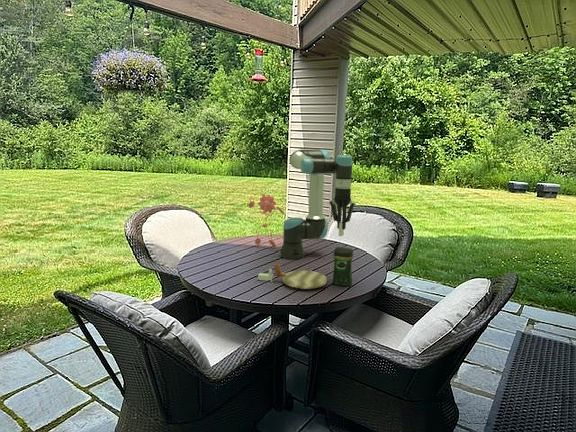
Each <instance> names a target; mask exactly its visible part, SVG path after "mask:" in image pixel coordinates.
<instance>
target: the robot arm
mask: <svg viewBox="0 0 576 432" xmlns="http://www.w3.org/2000/svg"><path fill="white" fill-rule="evenodd" d="M289 164H290V166H291V167H292V168H293V169H297V170H300V172H301V173H302V174H305V175H307V174H308V175H309V182H308V183H309V185H308V187H309V189H308V214H307V215H306V216H305V219H303V217H290V218H287V219H285V220H284V221H283V228H282V230H283V239H282V246H281V249H280V252H279V256H280V257H281V258H282V257H283V259H285V258H286V259H287V260H300V259H304V258H305V257H306V253H305V248H304V246H303V240H319V239H324V238H326V236H327V234H328V230H329V225H328V224H329V223H328V222H329V221H328V220H327V219H326V218H325V217H326V216H324V214H323V213H324V210H323V209H324V187H325V186H324V185H325V184H324V183H325V175H328V174H329V175H331V174H332V175H333V174H334V175H335V182H334V183H335V184H334V185H335V188H334V197H333V200H330V201H329V205H330V207H331V211H332V218H333V221H334V222H336V223H337V224H336V225H337V226H336V228H337V230H338V237H343V236H344V230H346V227H347V223H349V222H350V220H351V218H352V215H353V211H354V207H355V206H356V202H353V200H352V197H351V196H352V195H351V194H352V193H351V192H352V189H351V187H352V176H353V175H352V174H353V172H352V171H353V157H352V156H351V155H347V154H346V155H344V154H342V155H340V154H339V155H337V156H336V158H335V157H334V158H331V156H330V154H329V152H328V151H327V150H326V149H320V148H319V149H304V148H303V149H298V150H295V151H294V152H292V153H291V155H290V156H289ZM336 206H337V207H336ZM348 206H349V208H348Z"/></svg>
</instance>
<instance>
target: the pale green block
mask: <svg viewBox="0 0 576 432" xmlns="http://www.w3.org/2000/svg"><path fill="white" fill-rule="evenodd" d="M257 275H258V276H257V279H259V280H271V281H272V279H273V280H274V274H273V269H272V268H269V269H268V273H260V272H259V274H257ZM272 282H273V281H272Z"/></svg>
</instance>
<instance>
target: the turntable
mask: <svg viewBox="0 0 576 432" xmlns="http://www.w3.org/2000/svg"><path fill="white" fill-rule="evenodd" d="M273 277H282V282H283V284H284V285H286V286H287V287H288V286H289V287H291V288H294V287H295V288H294V289H298V288H302V289H301V290H313V289H312V288H314V289H317V288H321V287H324V286H325V285H327V282H328V279H327V276H326V275H324V274H323V273H321V272H318V271H313V270H293V271H288V272H283V271H281V263H279V262H275V263H274V274H273Z"/></svg>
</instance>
